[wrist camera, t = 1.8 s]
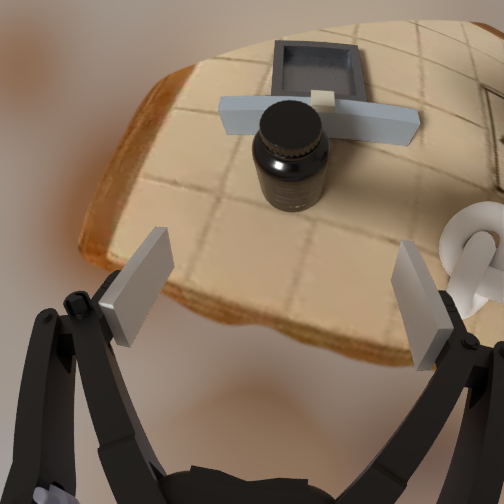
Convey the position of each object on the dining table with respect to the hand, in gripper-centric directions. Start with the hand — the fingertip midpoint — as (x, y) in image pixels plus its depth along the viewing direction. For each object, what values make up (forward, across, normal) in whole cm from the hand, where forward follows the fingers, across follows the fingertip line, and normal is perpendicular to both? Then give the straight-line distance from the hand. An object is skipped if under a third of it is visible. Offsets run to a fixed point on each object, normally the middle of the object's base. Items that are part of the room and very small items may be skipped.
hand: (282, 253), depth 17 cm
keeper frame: (+29, +3, +8) cm, 31 cm away
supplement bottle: (+18, 0, -3) cm, 18 cm away
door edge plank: (+23, +3, +2) cm, 24 cm away
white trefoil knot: (+12, +20, -9) cm, 25 cm away
